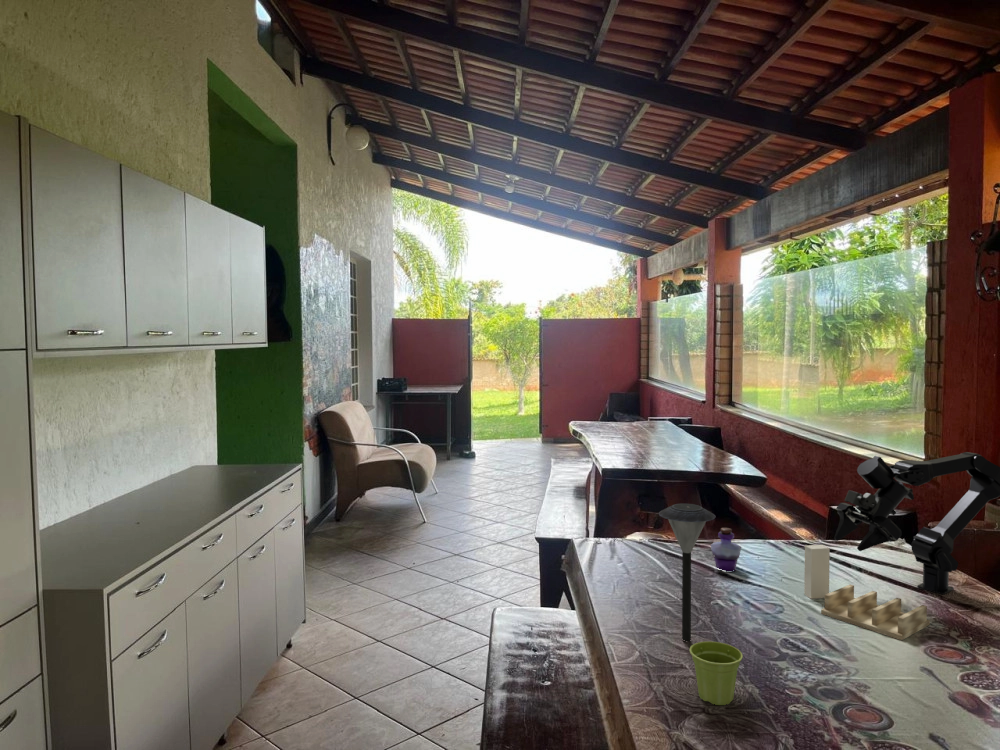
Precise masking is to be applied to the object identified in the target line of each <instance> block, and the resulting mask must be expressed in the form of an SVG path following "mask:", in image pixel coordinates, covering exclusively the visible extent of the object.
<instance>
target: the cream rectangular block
mask: <svg viewBox="0 0 1000 750" xmlns="http://www.w3.org/2000/svg"><path fill="white" fill-rule="evenodd" d="M830 551H831V550H830V547H829V546H826V545H825V544H813V545H812V544H811V545H810V544H809V545H804V575H803V576H804V578H803V579H804V582H803V583H804V585H803V587H804V588H803V591H804V593H803V595H804V596H806V597H807V598H809V599H810V600H814V599H817V600H818V599H825V595H826V594H828V593H830V559H831V558H830V555H831V554H830Z"/></svg>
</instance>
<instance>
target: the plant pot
mask: <svg viewBox="0 0 1000 750" xmlns="http://www.w3.org/2000/svg"><path fill="white" fill-rule="evenodd" d="M689 653H690V655H691V656H692V657H691V658H692V661H693V663H694V669H695V677H696V684H697V692H698V696H699V698H700V699H701V700H702V699H703V701H704V702H709V703H711V704H712V705H714V704H715V705H714V706H725V705H726V704H727V705H730V703H732V701H733V700H734V695H735V688H736V681H737V674H738V668H739V667H740V664H741V663H740V662H741V661H742V660H743V657H744V656H743V653H742V651H741V650H739V649H738V647H735V646H733V645H731V644H728V643H724V642H720V641H708V640H707V641H699V642H696V643H694V644H691V645H690V647H689Z"/></svg>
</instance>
